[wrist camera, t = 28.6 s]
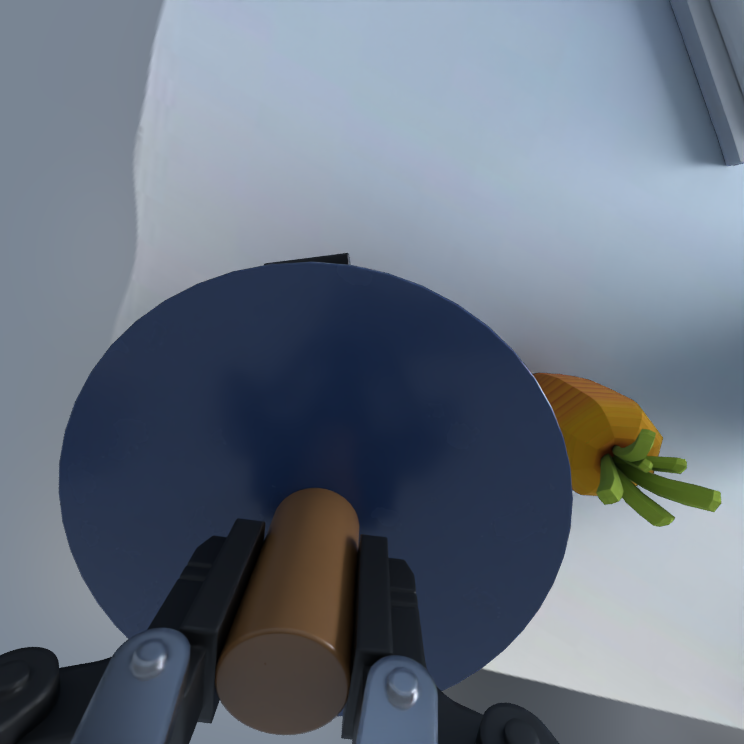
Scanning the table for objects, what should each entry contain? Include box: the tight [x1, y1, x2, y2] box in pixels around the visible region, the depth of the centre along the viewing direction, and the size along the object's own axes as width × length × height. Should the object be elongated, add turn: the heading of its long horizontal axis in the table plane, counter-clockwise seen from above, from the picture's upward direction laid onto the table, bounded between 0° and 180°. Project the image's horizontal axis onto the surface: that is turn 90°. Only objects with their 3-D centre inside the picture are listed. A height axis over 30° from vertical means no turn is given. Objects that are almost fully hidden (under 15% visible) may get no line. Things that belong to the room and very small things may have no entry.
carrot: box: [533, 373, 721, 527], centre depth 22 cm, size 5×5×15 cm
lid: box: [59, 262, 573, 735], centre depth 11 cm, size 15×15×6 cm
